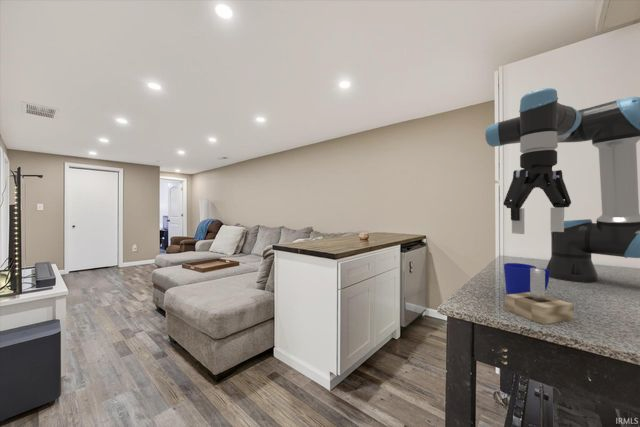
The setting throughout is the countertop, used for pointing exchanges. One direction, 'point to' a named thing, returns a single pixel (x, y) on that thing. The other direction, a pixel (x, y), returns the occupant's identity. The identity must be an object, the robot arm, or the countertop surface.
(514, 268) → the mug
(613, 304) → the countertop surface
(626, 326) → the countertop surface
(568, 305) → the hole block
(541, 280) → the peg
